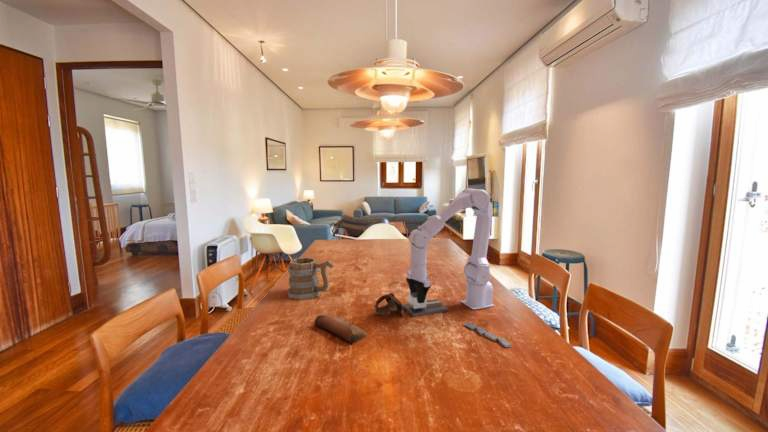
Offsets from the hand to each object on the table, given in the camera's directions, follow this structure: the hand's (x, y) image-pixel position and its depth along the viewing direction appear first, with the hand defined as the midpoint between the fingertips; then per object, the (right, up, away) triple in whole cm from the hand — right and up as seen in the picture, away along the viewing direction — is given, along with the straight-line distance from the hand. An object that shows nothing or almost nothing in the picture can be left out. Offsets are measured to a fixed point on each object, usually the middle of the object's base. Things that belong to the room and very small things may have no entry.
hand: (417, 299), depth 119 cm
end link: (0, -2, 0) cm, 2 cm away
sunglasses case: (-26, -7, -15) cm, 30 cm away
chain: (+19, -6, -18) cm, 27 cm away
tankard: (-42, -2, +15) cm, 44 cm away
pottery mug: (-10, -5, -3) cm, 11 cm away
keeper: (+3, -4, +2) cm, 5 cm away
